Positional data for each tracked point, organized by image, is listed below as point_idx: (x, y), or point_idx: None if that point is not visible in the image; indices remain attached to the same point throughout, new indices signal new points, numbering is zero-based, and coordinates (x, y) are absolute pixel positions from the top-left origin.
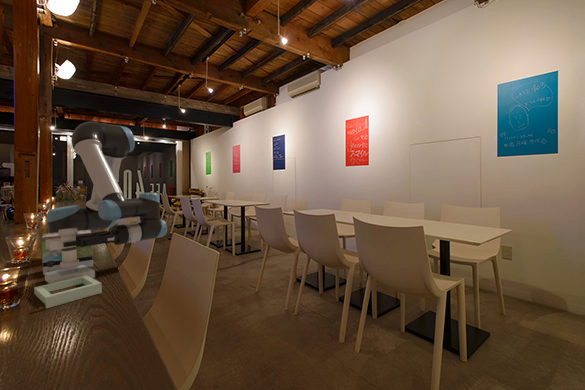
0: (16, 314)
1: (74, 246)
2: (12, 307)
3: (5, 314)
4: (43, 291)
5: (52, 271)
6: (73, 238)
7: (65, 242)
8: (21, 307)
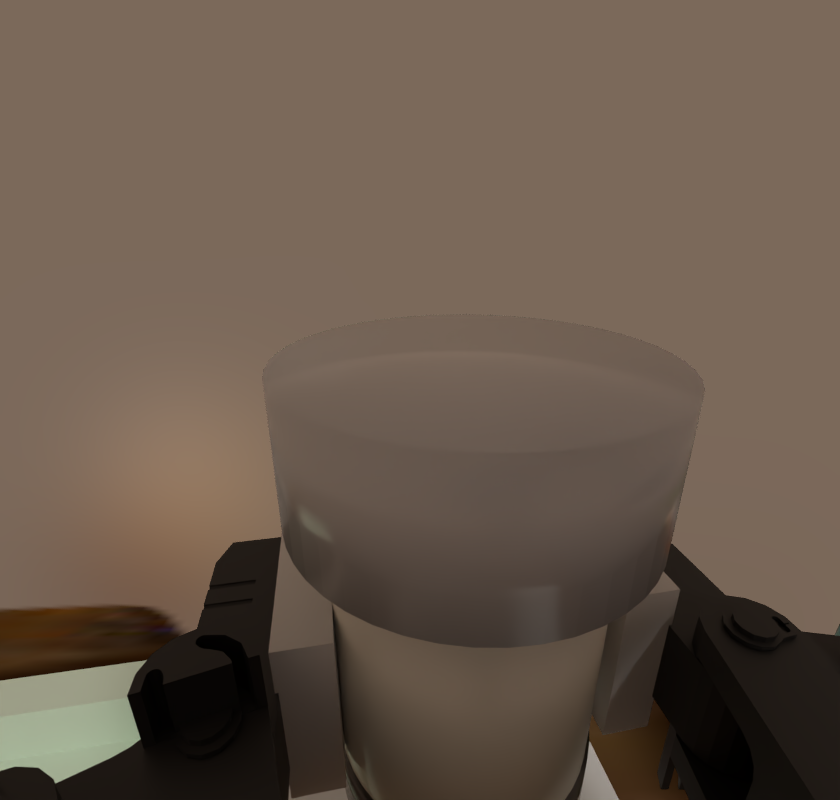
0: (14, 638)
1: (295, 774)
2: (161, 622)
3: (84, 606)
4: (19, 696)
5: (597, 761)
6: (344, 627)
7: (258, 555)
8: (104, 652)
